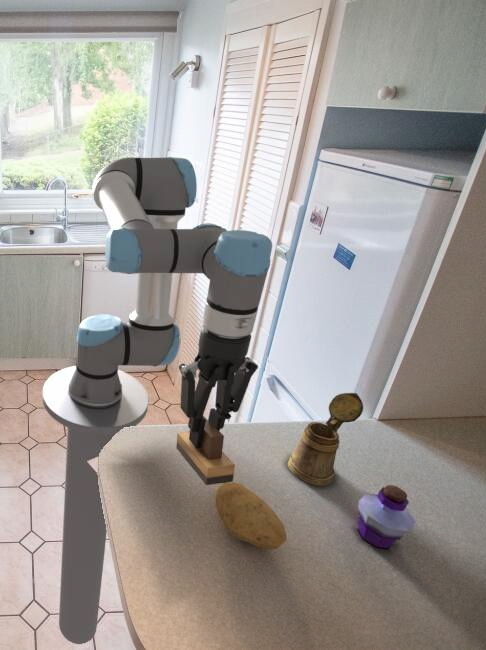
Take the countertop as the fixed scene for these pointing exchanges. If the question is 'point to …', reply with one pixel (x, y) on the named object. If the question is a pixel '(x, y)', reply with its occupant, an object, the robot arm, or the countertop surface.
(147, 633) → the countertop surface
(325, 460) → the wooden mug
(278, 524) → the potato
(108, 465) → the countertop surface
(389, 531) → the potion bottle
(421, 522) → the countertop surface
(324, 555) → the countertop surface
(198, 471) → the brush
